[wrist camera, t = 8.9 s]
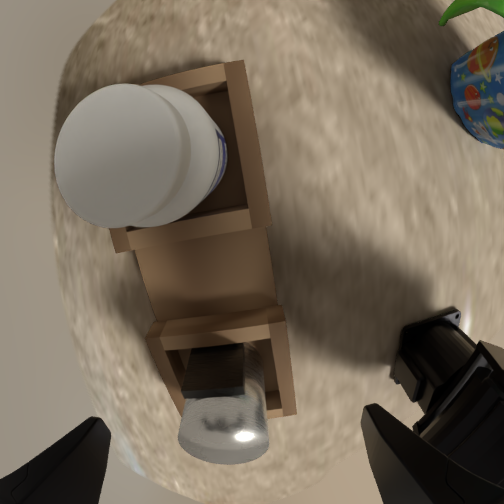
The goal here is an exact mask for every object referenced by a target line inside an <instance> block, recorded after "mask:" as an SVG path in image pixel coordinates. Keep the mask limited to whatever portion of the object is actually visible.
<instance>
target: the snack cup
mask: <svg viewBox="0 0 504 504" xmlns="http://www.w3.org/2000/svg"><path fill="white" fill-rule="evenodd" d="M479 7H483V8H486V9H488V10H490V11H492V12H494V13H496V14H498V15H500V16H502V17H503V18H504V0H455V1H454V2H453V3H452V4H451V5H450V6H449V7H448V8H447V10H446V11H445V13H444V14H443V16H442V17H441V19H440V21H439V25H440V26H444V25H445V24H446V23H447V21H448V20H449V19H451V18H454V17H456V16H459V15H461V14H464V13H467V12H469V11H472V10H474V9H477V8H479ZM451 71H452V72H451V94H452V97H453V106H454V109H455V111H456V113H457V114H458V115H459V116H460V118H461V119H462V122H463V124H464V126H465V127H466V128H467V130H468V131H469V132H470V133H471V134H472V135H473V136H475V137H476V138H477V139H478V140H479V141H480V142H481V143H485V144H488V145H491V146H493V147H496V148H500V149H504V31H502V32H501V33H499V34H497V35H495V36H494V37H492V38H490V39H488V40H487V41H485V42H483V43H482V44H480V45H479V46H477V47H476V48H475V49H473V50H471V51H469V52H467V53H466V54H465V55H463V56H462V57H460V58H459V59H458V60H457V61H456V62H454V63H453V64H452V67H451Z"/></svg>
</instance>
